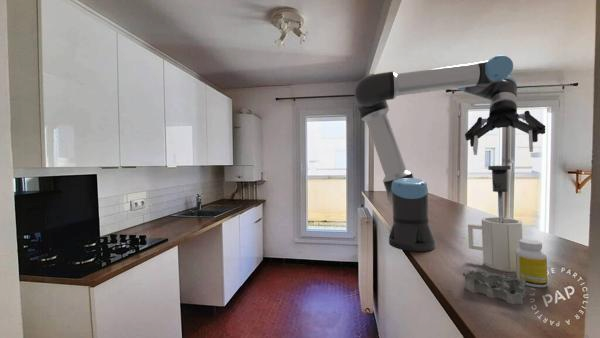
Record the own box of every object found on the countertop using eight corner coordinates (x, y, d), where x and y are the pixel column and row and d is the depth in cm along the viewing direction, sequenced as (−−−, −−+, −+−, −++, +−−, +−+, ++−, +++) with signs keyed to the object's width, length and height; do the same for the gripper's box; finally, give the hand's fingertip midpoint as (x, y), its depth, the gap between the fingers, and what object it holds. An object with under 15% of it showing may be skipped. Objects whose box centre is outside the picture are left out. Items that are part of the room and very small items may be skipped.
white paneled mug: (466, 263, 72) (464, 220, 72) (472, 255, 78) (471, 215, 78) (522, 275, 63) (520, 225, 63) (524, 264, 70) (522, 219, 69)
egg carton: (460, 290, 58) (459, 272, 58) (472, 280, 63) (471, 263, 63) (521, 309, 50) (520, 288, 50) (529, 295, 55) (528, 276, 55)
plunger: (486, 240, 69) (483, 166, 69) (490, 235, 74) (487, 165, 73) (515, 244, 65) (512, 165, 65) (517, 239, 69) (514, 165, 69)
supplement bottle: (554, 289, 56) (552, 245, 56) (525, 287, 57) (523, 244, 57) (537, 278, 61) (535, 238, 61) (511, 277, 63) (509, 237, 63)
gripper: (552, 110, 83) (558, 156, 72) (463, 121, 100) (456, 160, 89) (553, 91, 79) (559, 136, 68) (459, 106, 96) (452, 145, 85)
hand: (501, 150), depth 78 cm, fingers open, 13 cm apart
